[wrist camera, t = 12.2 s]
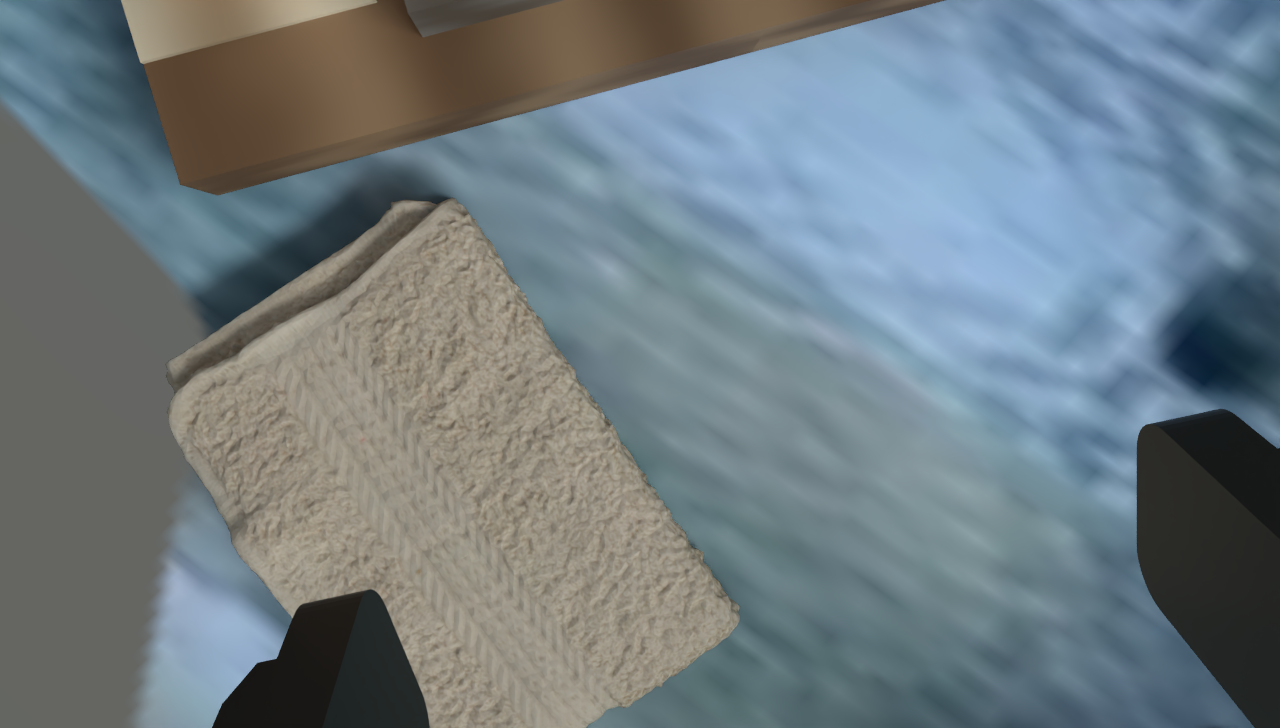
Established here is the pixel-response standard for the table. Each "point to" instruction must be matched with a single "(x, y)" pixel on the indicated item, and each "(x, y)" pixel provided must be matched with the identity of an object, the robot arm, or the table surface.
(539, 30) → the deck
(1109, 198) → the table surface
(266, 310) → the washcloth
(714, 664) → the table surface
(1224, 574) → the robot arm
